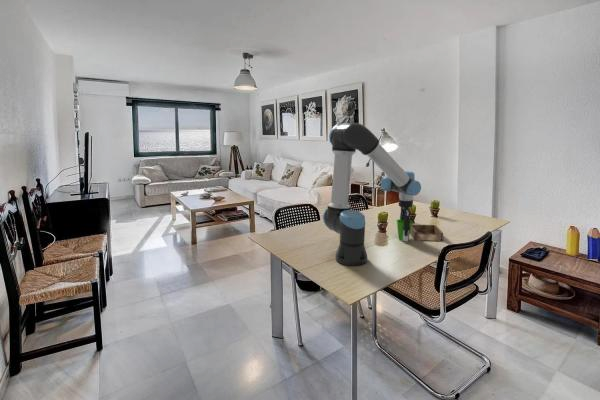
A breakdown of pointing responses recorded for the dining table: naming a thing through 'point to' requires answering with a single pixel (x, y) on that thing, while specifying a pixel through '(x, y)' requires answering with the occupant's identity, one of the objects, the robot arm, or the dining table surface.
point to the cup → (400, 228)
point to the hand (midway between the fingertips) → (403, 238)
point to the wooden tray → (426, 233)
